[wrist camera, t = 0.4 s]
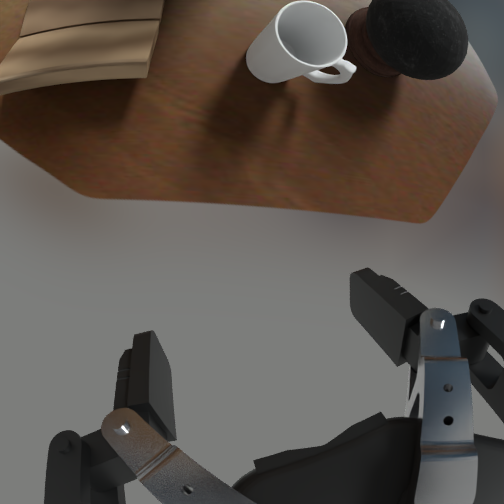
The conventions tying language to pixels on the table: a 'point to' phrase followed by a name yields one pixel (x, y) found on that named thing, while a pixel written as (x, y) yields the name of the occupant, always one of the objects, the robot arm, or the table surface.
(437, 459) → the robot arm
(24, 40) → the board
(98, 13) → the fixed plank
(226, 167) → the table surface
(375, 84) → the table surface
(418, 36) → the black sphere on base
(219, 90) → the table surface
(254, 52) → the mug
